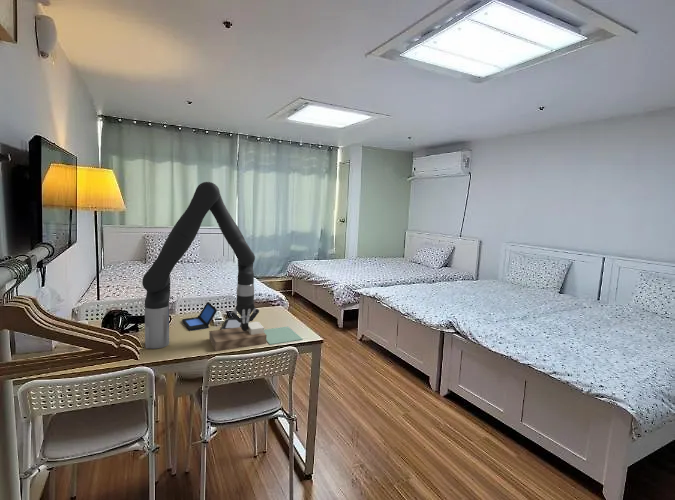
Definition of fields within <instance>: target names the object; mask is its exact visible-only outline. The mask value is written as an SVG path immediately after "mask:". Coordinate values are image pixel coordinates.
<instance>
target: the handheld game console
mask: <svg viewBox="0 0 675 500" xmlns="http://www.w3.org/2000/svg"><path fill="white" fill-rule="evenodd" d="M217 312H218V309H217V308H216V307H215V306H213V304H212V303H210V301H206V303H205V305H204V307H203V308H202V310H201V312H200V313H199V314H198V315H197V316H194V317H189V318H188V317H187V318H183V319H181V322H182V324H183V325H184V326H185V327H186V328H187V330H188V331H198V330H204V329H209V328H210V327H209V325H210V323H211V322H212V321H213V319H214V317H215V315H216V314H217Z"/></svg>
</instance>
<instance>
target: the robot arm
mask: <svg viewBox="0 0 675 500" xmlns="http://www.w3.org/2000/svg"><path fill="white" fill-rule="evenodd" d="M209 211H210V212H211V214H212V216H213V217H214V219H215V221H216V223H217V225H218V227H219V229H220V232H221V234H222V235H223V237H224V239H225V240H226V241H227V243H228V246H229V247H231V249H232V251H233V253H234V255H235V257H236V259H237V271H238V272H237V286H236V306H235V309H234V310H231V311H230V314H231V315H232V317H233V318H235V319H236V320H237V321H238V322H239V323H241V329H242V330H243V331H247V330H248V323H250V322H254V319H255V318H256V317H257V315H258V314H259V313H260V310H259V309H258V308H256V307H255V274H254V263H255V260H256V257H255V254H254V252H253V251H252V249H251V247H250V246H249V245H248V243H247V242H246V239H245V236H243V233H242V231H241V230H240V228H239V226H238V225H237V224H236V222H235V220H234V218H233V217H232V215H230V212H229V211H228V208H227V207H226V205H225V203H224V200H223V198H222V196H221V191H220V188H219V187H218V185H217V184H215V183H214V182H211V181H204V182H201V183H199V185H197V187H196V189H195V191H194V193H193V195H192V198H191V200H190V202H189V204H188V207H187V208H186V209H185V211H184V212H183V213H182V214H181V215H180V217H179V219H177V222H176V223H175V225H174V226H173V228H172V229H171V230H170V232H169V234H168V236H167V238H166V239H165V241H164V243H163V245H162V247H161V249H160V252H159V254H158V256H157V257H156V259H155V261H153V264H151V266H150V267H149V268H148V270H147V271H146V273H145V274H144V275H143V277H142V281H141V284H142V287H143V289H144V290H145V291H146V295H145V299H144V345H145V349H146V350H147V349H152V350H153V349H163V348H166V347H168V346H169V345H170V297H171V273H172V271H173V269H174V268H175V266H176V265H177V264H178V262H179V261H180V260H181V258H182V257H183V256H185V254H186V252H187V251H188V249H189V248H190V247H191V245H192V243H193V242H194V240H195V238H196V237H197V235H198V232H199V230H200V227H201V226H202V223H203V221H204V219H205V217H206V215H207V213H208V212H209ZM238 314H239V315H240V317H239V316H237V315H238ZM239 318H241V319H239Z"/></svg>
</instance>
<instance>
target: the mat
mask: <svg viewBox="0 0 675 500" xmlns="http://www.w3.org/2000/svg"><path fill="white" fill-rule="evenodd" d="M264 333H265V334H266V335H267V338H266V343H268V345H269V346H270V345H278V344H284V343H289V342H297V341H303V340H304V339H303V338H302V337H301V336H300V335H299V334H298V333H296V332H295V331H294V330H293V329H292V328H291V327H289V326H282V327H281V326H280V327H275V328H267V329H265V328H264Z"/></svg>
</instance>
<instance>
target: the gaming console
mask: <svg viewBox="0 0 675 500" xmlns="http://www.w3.org/2000/svg"><path fill="white" fill-rule="evenodd" d="M234 318H235V317H229V318H226V319H225V320H224V323H223V325H222V327H221V329H229V328H237V327H241V323H239V322H238V321H237V320H236V319H234ZM238 318H239V319H241V317H238Z"/></svg>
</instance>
